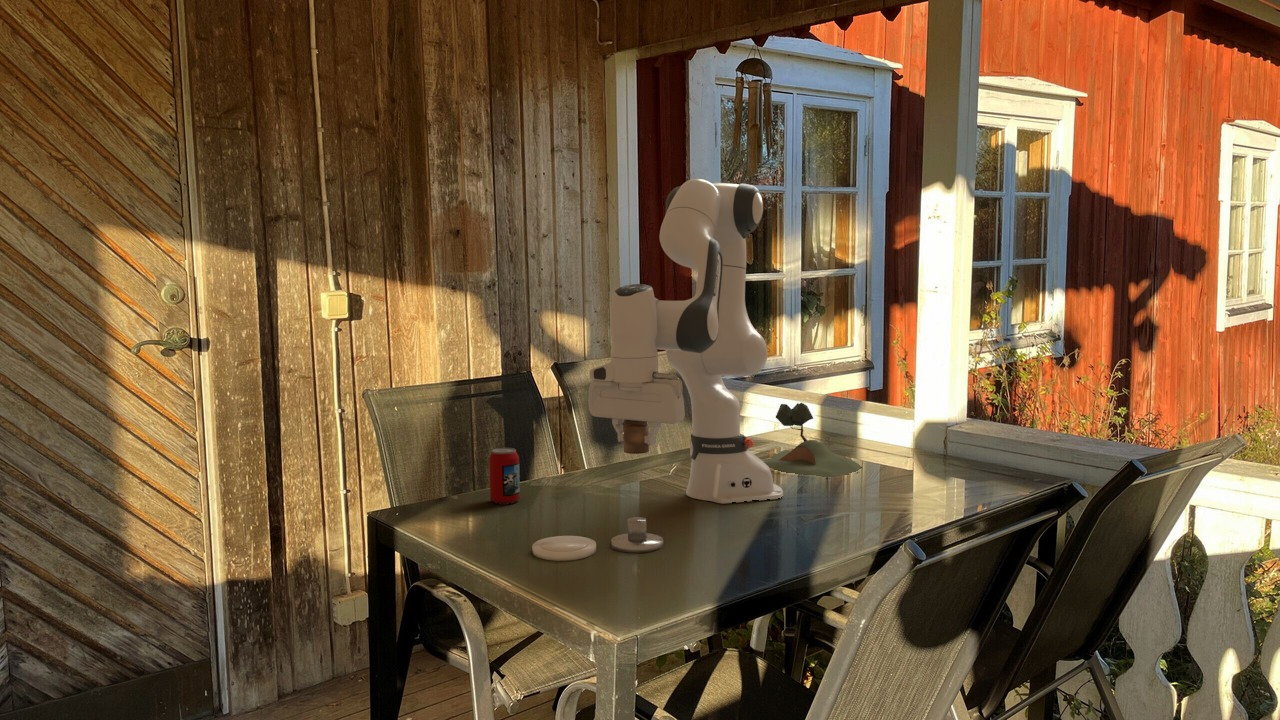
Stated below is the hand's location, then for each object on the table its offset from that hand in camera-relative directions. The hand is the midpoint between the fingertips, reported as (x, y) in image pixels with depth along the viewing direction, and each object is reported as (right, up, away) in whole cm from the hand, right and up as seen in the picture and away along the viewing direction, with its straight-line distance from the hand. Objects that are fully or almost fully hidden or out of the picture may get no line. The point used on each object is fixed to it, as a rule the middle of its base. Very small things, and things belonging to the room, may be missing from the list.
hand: (636, 443), depth 181 cm
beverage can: (-30, -17, +37) cm, 51 cm away
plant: (+45, -13, +74) cm, 87 cm away
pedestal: (0, -20, +2) cm, 20 cm away
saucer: (-14, -20, -2) cm, 24 cm away
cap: (0, -2, 0) cm, 2 cm away
